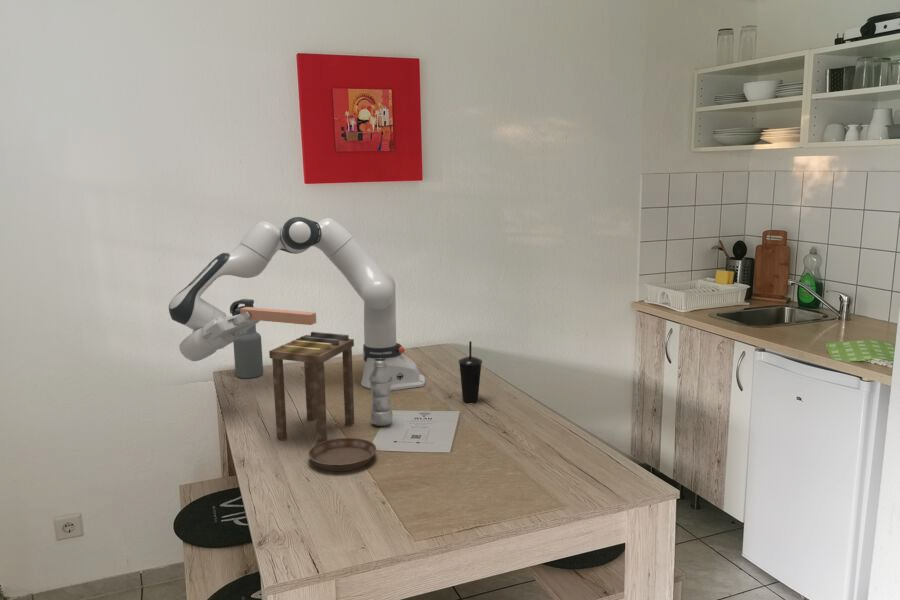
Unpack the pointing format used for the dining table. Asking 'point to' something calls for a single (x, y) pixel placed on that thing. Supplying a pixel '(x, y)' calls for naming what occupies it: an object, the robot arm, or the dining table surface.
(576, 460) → the dining table surface
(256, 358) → the water bottle
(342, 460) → the plant saucer
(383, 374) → the plastic bottle
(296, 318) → the terracotta bar
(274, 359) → the walnut stool
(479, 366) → the drinking cup
